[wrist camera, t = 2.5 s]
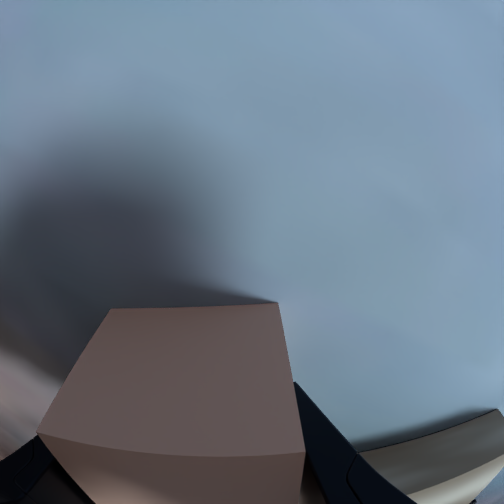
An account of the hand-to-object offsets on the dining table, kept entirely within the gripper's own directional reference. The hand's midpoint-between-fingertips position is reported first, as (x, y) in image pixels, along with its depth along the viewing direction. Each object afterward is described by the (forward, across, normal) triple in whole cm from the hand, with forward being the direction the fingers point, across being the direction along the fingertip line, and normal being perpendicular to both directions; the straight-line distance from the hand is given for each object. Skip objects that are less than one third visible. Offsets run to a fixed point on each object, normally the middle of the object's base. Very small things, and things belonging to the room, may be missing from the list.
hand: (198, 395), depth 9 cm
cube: (+1, 0, 0) cm, 1 cm away
